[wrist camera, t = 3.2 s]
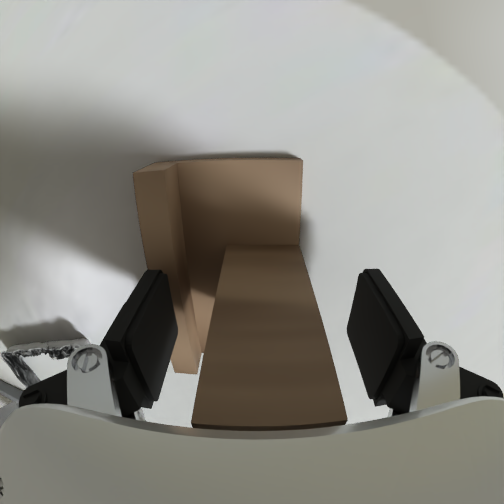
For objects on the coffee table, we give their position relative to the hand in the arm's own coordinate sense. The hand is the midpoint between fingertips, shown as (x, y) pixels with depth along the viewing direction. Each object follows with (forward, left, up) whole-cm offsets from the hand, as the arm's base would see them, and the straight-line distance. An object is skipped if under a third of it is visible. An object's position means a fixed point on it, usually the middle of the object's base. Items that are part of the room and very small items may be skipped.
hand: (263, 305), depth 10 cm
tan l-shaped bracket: (0, +1, -3) cm, 3 cm away
